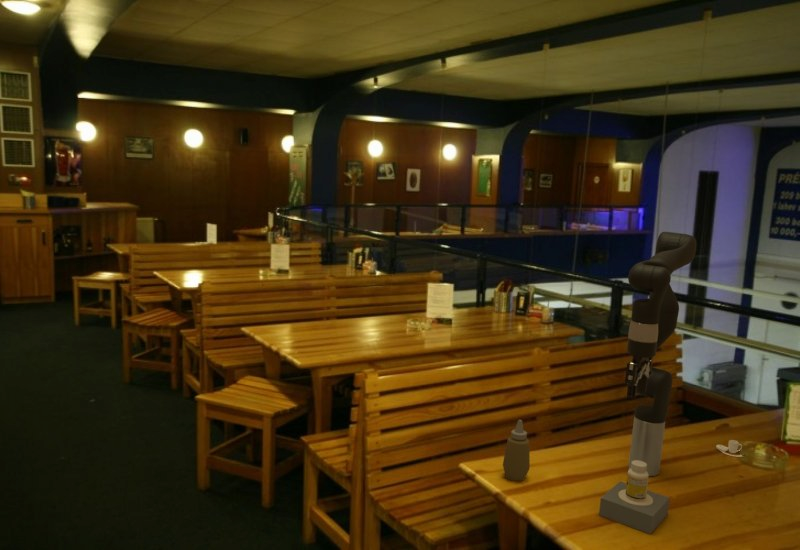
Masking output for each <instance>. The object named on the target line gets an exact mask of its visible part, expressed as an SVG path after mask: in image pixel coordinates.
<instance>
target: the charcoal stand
mask: <svg viewBox="0 0 800 550" xmlns="http://www.w3.org/2000/svg"><path fill="white" fill-rule="evenodd" d="M626 484H627V482H624V481H621V480H620V481H618V482H617V483H616V484H614V486H612V488H611V489H609V490H608V491H607V492H606V493H604V495H603V496H602V497H600V503H599V512H598V515H599V516H601V517H603V518H606V519H608V520H611V521H614V522H616V523H619V524H621V525H625V526H627V527H629V528H633V529H635V530H638V531H641V532H643V533H646V534H649V535H652V534H653V532H654V531H655V530H656V529H657V528H658V526H659V525H660V524H661V523H662V522H663V521H664V519H666V517H667V516H668V514H669V509H670V508H669V507H670V500H671V497H669V496H665V495H663V494H661V493H657V492H654V491H651V490H648V489H647V495H646V499H645V500H644V501H634V500H631V499H629V498H628V497H627V496H626Z"/></svg>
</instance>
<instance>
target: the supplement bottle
mask: <svg viewBox="0 0 800 550" xmlns="http://www.w3.org/2000/svg"><path fill="white" fill-rule="evenodd" d="M646 469H647V464H646V463H645V462H643V461H639V460H634V461H632V462H631V468H630V469H629V468H628V471H627V476H626V483H627V484H626V496H627V497H628V498H629V499H631V500H634V501H644V500H645V499H646V495H647V490H648V484H649V477H650V476H649V474H648V472H647V471H646Z"/></svg>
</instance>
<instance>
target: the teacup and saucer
mask: <svg viewBox="0 0 800 550" xmlns="http://www.w3.org/2000/svg"><path fill="white" fill-rule="evenodd" d="M715 446H716V447H715V448H716V450H718V451H720V452H721V453H723V454H725V455H727V456H731V457H734V458H735V457H737V458H741V457H744V456H742V455H741V454H739V455H737V454H736V453H738V451H740V450H741V451H742V448H743V445H742V444H741V443H739V441H738V440H736V439H735V440H734V439H729V440H728V446H725V445H723V444H717V445H715ZM739 446H740V448H739ZM737 449H739V450H737ZM727 452H729V453H727ZM730 453H731V454H730ZM734 454H735V455H734Z"/></svg>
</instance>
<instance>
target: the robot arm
mask: <svg viewBox="0 0 800 550" xmlns="http://www.w3.org/2000/svg"><path fill="white" fill-rule="evenodd" d="M696 252H697V240H696V238H695V236H693V235H691V234H687V233H680V232H671V231H662V232H661V233H660V234H659V235H658V237H657V241H656V245H655V251H654V254H653V255H652V256H651V257H650V259H648V260H644V261H640V262H637V263H636V264H634V265H633V266H632V267H631V268H630V270H629V271H628V272H629V273H628V277H627V279H628V284H629V285H630V287H632V289H634V290H635V291H636V290H637V291H640V292H641V291H643V292H648V293H649V296H648V298H638V299H635V300H634V301H633V303H632V310H631V318H630V324H629V328H628V337H627V347H626V353H627V354H629V355H631V356H632V359H631V360H630V361H627V363H626V369H625V375H624V376H625V377H624V384H627V390H626V397H627V398H628V399H633V400H634V399H636V395H637V394H638V395H640V396H644V397H647V398H651V399H653V401H652V402H653V403H651V404H640V405H637V406H635V409H634V414H633V417H634V418H633V424H632V425H633V426H632V432H631V443H630V448H629V449H630V451H629V456H628V458H629V459H628V470H629V469H630V468H631V462H632V461H634V460H639V461H643V462H645V463H646V464H647V469H646V471H647V472H648V474H649V477H655V476H658V475H659V474H660V467H661V460H662V452H663V443H664V436H665V427H666V419H667V415H668V410H669V405H670V399H671V393H672V388H673V376H672V373H671V372H670V371H668V370H665V369H662V368H661V369H659V368H656V367H653V361H654V360H653V358H654V357H655V356H656V353H657V351H658V350H659V348H660V347H661V346H662V345H663V344H664V343H665V342H666V341H667V340H668V339H669V338H670V337H671V336H672V335H673V333H674V332H675V330H676V328H677V325H678V319H679V311H680V305H679V301H678V299H677V296H676V294H675V293H674V291H673V289H672V286H671V279H672V273H674V272H675V271H677V270H678V269H681V268H683V267H684V266H687V265H690V263H692V261H693V260H694V259H695V256H696Z"/></svg>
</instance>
